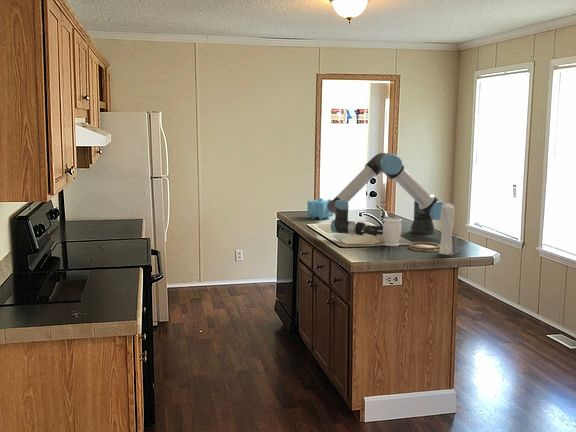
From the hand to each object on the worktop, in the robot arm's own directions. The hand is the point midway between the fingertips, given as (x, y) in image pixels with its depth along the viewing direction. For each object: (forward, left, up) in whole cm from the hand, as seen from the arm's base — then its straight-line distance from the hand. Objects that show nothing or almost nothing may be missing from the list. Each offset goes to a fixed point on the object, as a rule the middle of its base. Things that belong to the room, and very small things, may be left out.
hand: (392, 231), depth 343 cm
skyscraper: (+7, +32, -8) cm, 34 cm away
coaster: (0, +19, -8) cm, 20 cm away
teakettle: (-68, -73, -8) cm, 101 cm away
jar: (0, 0, -8) cm, 8 cm away
